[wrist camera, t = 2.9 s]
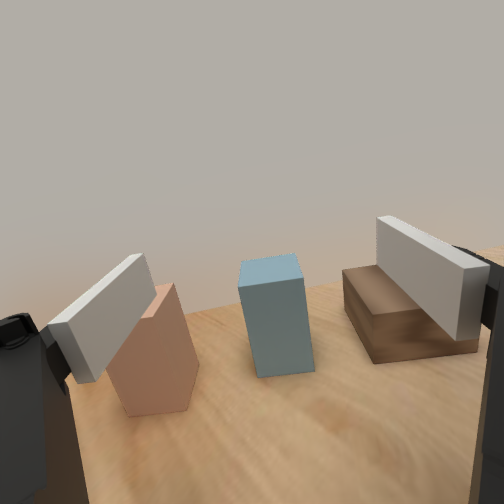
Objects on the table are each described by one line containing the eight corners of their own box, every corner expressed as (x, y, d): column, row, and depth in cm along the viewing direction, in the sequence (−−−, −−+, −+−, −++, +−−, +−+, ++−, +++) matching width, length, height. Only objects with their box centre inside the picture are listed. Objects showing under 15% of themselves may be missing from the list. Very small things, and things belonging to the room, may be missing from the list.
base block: (420, 299, 36) (422, 258, 34) (477, 352, 27) (485, 299, 25) (344, 309, 37) (342, 269, 35) (373, 364, 28) (372, 314, 25)
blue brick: (305, 334, 34) (295, 253, 30) (314, 371, 28) (303, 277, 24) (257, 340, 34) (241, 261, 30) (257, 378, 29) (237, 287, 25)
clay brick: (199, 364, 32) (173, 282, 28) (186, 410, 26) (152, 316, 22) (151, 370, 32) (119, 291, 29) (128, 417, 27) (85, 326, 23)
